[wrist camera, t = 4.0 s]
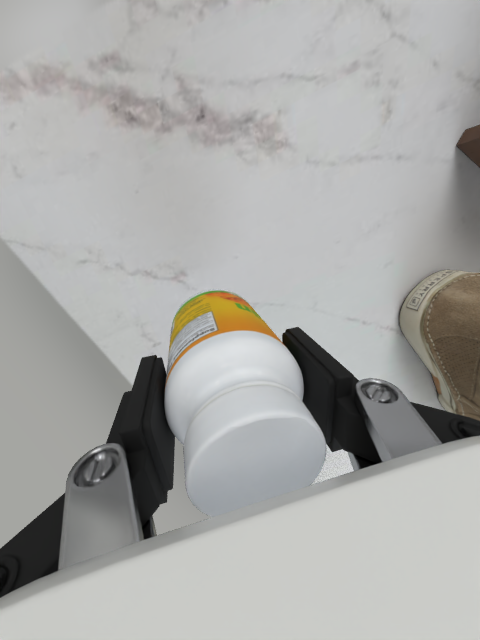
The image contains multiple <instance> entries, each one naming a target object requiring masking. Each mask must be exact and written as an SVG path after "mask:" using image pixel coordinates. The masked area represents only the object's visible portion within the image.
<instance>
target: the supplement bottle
mask: <svg viewBox="0 0 480 640" xmlns="http://www.w3.org/2000/svg"><path fill="white" fill-rule="evenodd" d="M303 395H304V382H303V377H302V373H301V370H300V368H299V365H298V363H297V361H296V360H295V358H294V357H293V355H292V354H291V353H290V351H289V350H288V349H287V347H286V346H285V345H284V344H283V343H282V342H281V341H280V339H279V338H278V337H277V336H276V335H275V334H274V332H273V331H272V330H271V329H270V328H269V327H268V325H267V324H266V323H265V322H264V321H263V320H262V319H261V317H260V316H259V315H258V314H257V313H256V312H255V310H254V309H253V308H252V307H251V306H250V305H249V304H248V303H247V302H246V301H245V300H244V299H243V298H242V297H240V296H239V295H237V294H235V293H233V292H230V291H227V290H221V289H212V290H206V291H203V292H200V293H198V294H195V295H194V296H192V297H190V298H189V299H188V300H186V301H185V302H184V303H183V304H182V305H181V307H180V308H179V309H178V311H177V313H176V315H175V317H174V320H173V323H172V328H171V337H170V346H169V356H168V366H167V375H166V383H165V398H164V407H165V414H166V419H167V422H168V425H169V427H170V429H171V431H172V432H173V434H174V435H175V437H176V438H177V439H178V440H179V441H180V442H181V443H182V444H183V445H184V446H183V450H184V451H183V452H184V468H185V486H186V490H187V494H188V497H189V499H190V500H191V502H192V503H193V505H194V506H195V507H196V508H197V509H198V510H199V511H201V512H202V513H204V514H206V515H209V516H211V517H215V516H218V515H221V514H224V513H227V512H230V511H233V510H236V509H239V508H242V507H245V506H248V505H251V504H254V503H257V502H260V501H264V500H267V499H270V498H273V497H276V496H279V495H282V494H285V493H288V492H291V491H294V490H297V489H300V488H304V487H307V486H310V485H311V484H312V483H313V481H314V480H315V479H316V477H317V476H318V474H319V472H320V471H321V469H322V466H323V464H324V461H325V457H326V441H325V437H324V435H323V433H322V431H321V429H320V427H319V425H318V424H317V422H316V421H315V420H314V418H313V416H312V415H311V413H310V412H309V410H308V409H307V408H306V406H305V405H304V403H303V402H302V401H303Z"/></svg>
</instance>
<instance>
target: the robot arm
mask: <svg viewBox="0 0 480 640" xmlns="http://www.w3.org/2000/svg"><path fill="white" fill-rule="evenodd" d="M282 340H283V344H284V345H285V346H286V347H287V349H288V350H289V351H290V353H291V354H292V355H293V357H294V358H295V360H296V361H297V363H298V365H299V368H300V370H301V373H302V377H303V382H304V395H303V401H302V402H303V403H304V405H305V406H306V408H307V409H308V410H309V412H310V413H311V415H312V416H313V418H314V420H315V421H316V422H317V424H318V425H319V427H320V429H321V431H322V433H323V435H324V437H325V441H326V444H327V445H328V447H329V448H330V450H331V451H332V452H334V451H337V450H341V449H343V450H345V451H347V452H348V455H349V458H350V461H351V464H352V467H353V469H354V471H353V472H350V473H347V474H344V475H341V476H338V477H335V478H331V479H328V480H325V481H322V482H319V483H316V484H313V485H310V486H307V487H304V488H300V489H297V490H294V491H291V492H288V493H285V494H282V495H279V496H276V497H273V498H270V499H267V500H264V501H260V502H257V503H254V504H251V505H248V506H245V507H242V508H239V509H236V510H233V511H230V512H227V513H224V514H221V515H218V516H215V517H212V518H209V519H206V520H203V521H200V522H197V523H194V524H191V525H188V526H185V527H182V528H179V529H175V530H172V531H169V532H166V533H163V534H161V535H158V536H157V534H156V530H155V525H154V521H153V517H152V515H153V513H154V512H155V511H156V510H157V508H158V507H159V504H163V503H166V502H167V492H168V490H171V489H172V488H173V473H174V446H175V435H174V434H173V432H172V431H171V429H170V427H169V425H168V422H167V419H166V414H165V407H164V398H165V383H166V371H165V367H164V364H163V360H162V358H161V357H160V358H157V356H156V355H153V356H148V357H143V358H142V359H141V362H140V365H139V369H138V372H137V375H136V378H135V381H134V385H133V388H132V391H128V392H125V393H124V395H123V397H122V400H121V403H120V405H119V408H118V411H117V414H116V417H115V420H114V423H113V425H112V428H111V431H110V434H109V437H108V439H107V442H106V444H103V445H101V446H98V447H96V448H94V449H92V450H91V451H89V452H87V453H86V454H85V455H84V456H83V457H81V458H80V459H79V460H78V461H77V462H76V463H75V465H74V466H73V467H72V469H71V471H70V472H69V474H68V478H67V481H66V492H65V493H64V494H63V495H62V496H61V497H60V498H59V499H58V500H56V501H55V502H54V503H53V504H52V505H51V506H49V507H48V508H47V509H46V510H45V511H43V512H42V513H41V514H40V515H39V516H38V517H37V518H36V519H34V520H33V521H32V522H31V523H30V524H28V525H27V526H26V527H25V528H24V529H23V530H21V531H20V532H19V533H18V534H17V535H16V536H15V537H13V538H12V539H11V540H10V541H9V542H8V543H7V544H5V545H4V546H3V547H2V548H1V549H0V640H480V421H479V420H476V419H473V418H470V417H466V416H462V415H459V414H455V413H451V412H447V411H443V410H439V409H435V408H432V407H428V406H424V405H420V404H416V403H412V402H409V400H408V399H407V398H406V397H405V395H404V394H403V393H402V391H401V390H400V389H398V388H397V387H396V386H395V385H393V384H391V383H389V382H387V381H384V380H380V379H373V378H368V379H363V380H360V381H359V380H358V379H356V378H355V377H354V376H353V374H352V373H350V372H349V371H348V370H347V369H346V368H345V367H344V366H342V365H341V364H340V363H339V362H338V361H337V360H336V359H334V358H333V357H332V356H331V355H330V354H329V353H328V352H326V351H325V350H324V349H323V348H322V347H321V346H320V345H318V344H317V343H316V342H315V341H314V340H313V339H312V338H310V337H309V336H308V335H307V334H306V333H305V332H304V331H302V330H301V329H300V328H299V327H296V328H291V329H287V330H286V332H285V333H283V335H282Z"/></svg>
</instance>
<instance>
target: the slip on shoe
mask: <svg viewBox="0 0 480 640" xmlns="http://www.w3.org/2000/svg"><path fill="white" fill-rule="evenodd" d="M400 327H401V330H402V332H403V334H404V336H405V338H406V339H407V341H408V342H409V343H410V345H411V346H412V347H413V349H414V350H415V352H416V353H417V354H418V356H419V357H420V358H421V360H422V361H423V363H424V364H425V366H426V367H427V368H428V370H429V371H430V372H431V374H432V377H433V380H434V383H435V386H436V389H437V392H438V394H439V397H438V399H439V402H440V403H441V405H442V406H443V408H444V409H445V410H446V411H448V412H451V413H455V414H459V415H462V416H466V417H470V418H473V419H476V420H479V421H480V273H473V272H465V271H459V270H443V271H439V272H436V273H434V274H432V275H430V276H428V277H427V278H425V279H424V280H423V281H422V282H420V283H419V284H418V285H417V286H416V287H415V288H414V289H413V290H412V291H411V292H410V294H409V295H408V296H407V298H406V300H405V302H404V304H403V306H402V309H401V312H400Z"/></svg>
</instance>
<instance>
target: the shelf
mask: <svg viewBox="0 0 480 640" xmlns="http://www.w3.org/2000/svg"><path fill="white" fill-rule="evenodd" d="M456 146H457V147H458V148H459V149H460V150H461V151H463V152H464V153H465V154H466V155H467V156H468V157H469V158H470V159H471V160H472V161H473V162H474V163H475V164H476V165H478V166H479V167H480V125H477V126H475V127H472V128H469V129H467V130H465V131H464V133H463V135H462V136H461V138H460V140H459V142H458V143H457V145H456Z"/></svg>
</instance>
